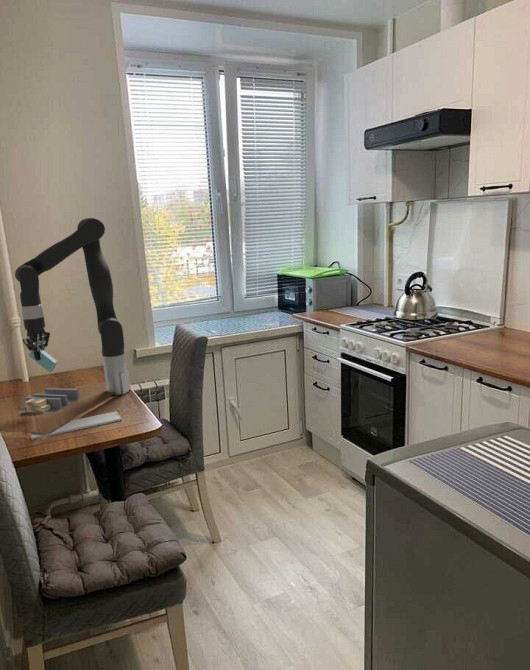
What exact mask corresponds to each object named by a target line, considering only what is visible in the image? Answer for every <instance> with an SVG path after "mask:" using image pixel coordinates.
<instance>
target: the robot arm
mask: <svg viewBox="0 0 530 670" xmlns="http://www.w3.org/2000/svg"><path fill="white" fill-rule="evenodd" d="M105 227H106V226H105V224H104V223H103V221H102V220H100V219H99V218H96V217H88V218H83V219H81V220H80V221H79V222H78V224H77V229H76V230H75V231H74V232H72V233H71V234H70V235H68V236H67V237H66V238H63V239H62V240H60V241H58V242H56V243H54V244H52V245H51V246H49V247H47V248H46V249H44V250H43V251H42V252H40V253H39V254H38V255H36V256H34V257H33V258H32V259H30V260H27V261H26V262H24V263H23V264H21V265H20V266H18V267H17V268H16V269H15V272H14V276H15V279H16V280H17V281H18V282H19V285H20V286H19V287H20V294H19V298H20V304H21V315H22V316H21V317H22V320H23V326H24V330H25V331H26V337H25V338H23V339H22V342H23V344H24V345H25V347H26V348H27V349H28V351H30V352H31V351H33V352H34V357H35V359H36V360H41V358H40V351H39V347H40V348H41V349H43V350H44V351H45V349H46V347H49V346H48V345H49V340H50V337H51V336H50V335H51V332H48V331H46V330H45V327H46V322H45V321H46V320H45V315H44V310H43V306H42V302H41V294H40V278H39V277H40V276H41V275H42V274H44V272H49V271H51V270H52V269H54V268H55V267H57V266H58V265H59V264H60V263H62V262H63V261H64V260H66V259H67V258H68V257H70V256H72V255H73V254H74V253H75V252H77V251H79V249H82V250H83V251H82V252H83V255H84V262H85V267H86V273H87V279H88V283H89V284H88V285H89V288H90V293H91V296H92V299H93V303H94V305H95V311H96V319H97V320H96V321H97V330H98V331H97V332H98V333H99V334H100V340H101V346H102V347H101V354H102V355H101V356H102V363H103V369H104V379H105V385H106V391H107V392H108V393H113V394H112V396H120V395H125V394H126V393H128V392H130V391H131V390H132V388H131V387H132V386H131V381H130V372H129V369H127V363H126V356H125V355H126V354H125V340H124V339H125V338H124V329H123V326H122V323H120V321H119V320H118V318H117V316H116V311H115V308H114V288H113V287H114V285H113V278H112V274H111V271H110V267H109V265H108V263H107V261H106V259H105V257H104V254H103V251H102V247H101V242H100V241H101V240H100V239H101V238H102V237H103V236H104V234H105V233H106V232H105V231H106V228H105ZM35 346H36V348H35ZM129 390H130V391H129Z"/></svg>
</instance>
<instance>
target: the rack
mask: <svg viewBox="0 0 530 670" xmlns="http://www.w3.org/2000/svg"><path fill="white" fill-rule="evenodd" d="M80 398H81V397H80V391H79V389H77V388H76V389H75V388H55V387H54V388H53V387H52V388H51V387H46V388H44V393H32V396H26V397H25V402H26V401H28V400H30V399H46V401H47V404H50V406H51V409H50V410H48V411H46V412H44V413H41V412H27V407H25V408H22V409H21V410H18V413H20V414H21V413H24V414H25V413H26V414H40V415H41V414H42V415H44V414H45V415H52V414H54V413H56V412H58V411H60V410H61V409H63V408H65V407H67V406H69V405H70V404H72V403H74V402H76V401H78V400H80Z"/></svg>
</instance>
